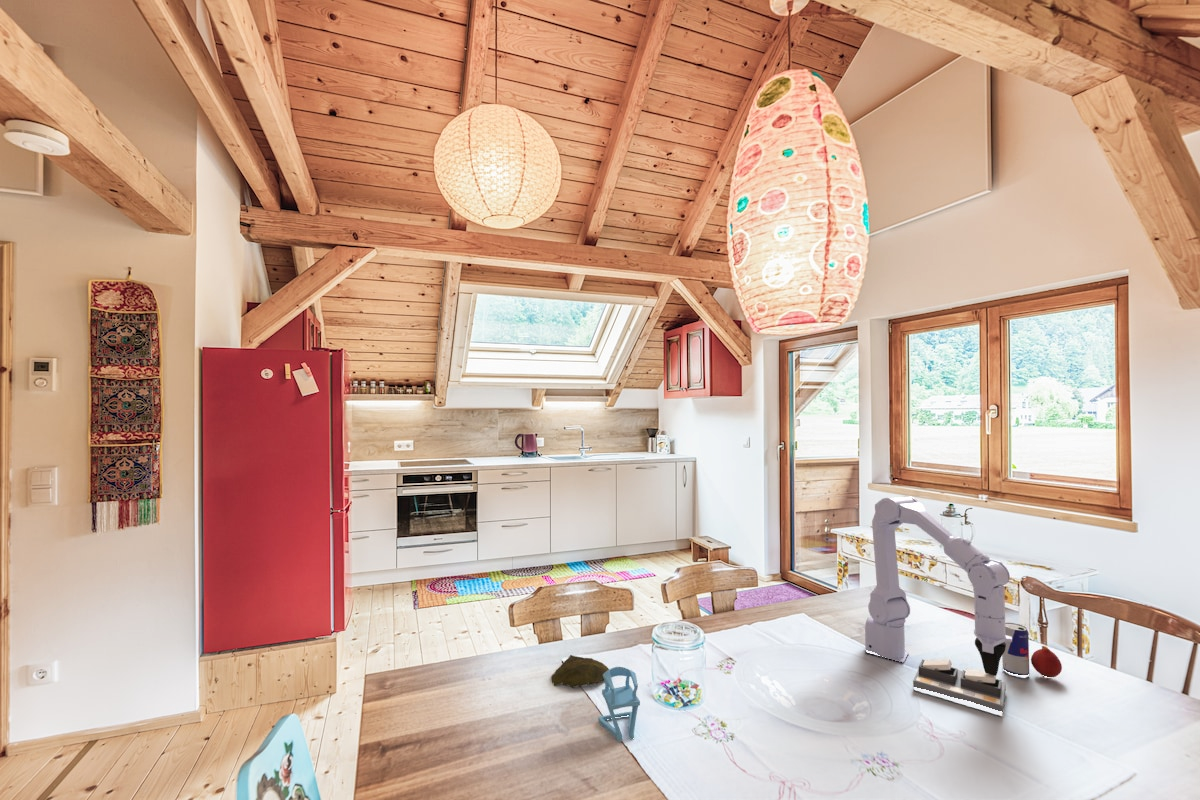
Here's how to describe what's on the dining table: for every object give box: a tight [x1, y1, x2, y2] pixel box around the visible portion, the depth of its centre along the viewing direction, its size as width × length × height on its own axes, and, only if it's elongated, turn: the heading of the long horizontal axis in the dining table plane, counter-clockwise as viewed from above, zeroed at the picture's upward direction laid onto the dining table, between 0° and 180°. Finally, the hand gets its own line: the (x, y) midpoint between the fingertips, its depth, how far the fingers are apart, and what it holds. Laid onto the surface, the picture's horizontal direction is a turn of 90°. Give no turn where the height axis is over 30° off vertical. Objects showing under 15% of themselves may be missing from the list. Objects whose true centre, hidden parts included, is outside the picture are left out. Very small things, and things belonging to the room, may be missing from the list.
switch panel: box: [912, 659, 1007, 713], centre depth 124 cm, size 17×13×4 cm
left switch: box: [922, 658, 953, 672], centre depth 127 cm, size 6×4×2 cm, turn 50°
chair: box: [597, 666, 641, 743], centre depth 110 cm, size 8×8×12 cm
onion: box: [1030, 645, 1063, 678], centre depth 130 cm, size 6×6×8 cm
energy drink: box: [1001, 622, 1030, 675], centre depth 133 cm, size 5×5×12 cm
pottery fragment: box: [551, 654, 610, 688], centre depth 131 cm, size 13×14×4 cm
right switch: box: [965, 668, 997, 683], centre depth 121 cm, size 6×4×2 cm, turn 50°
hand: (991, 673), depth 120 cm, fingers closed
